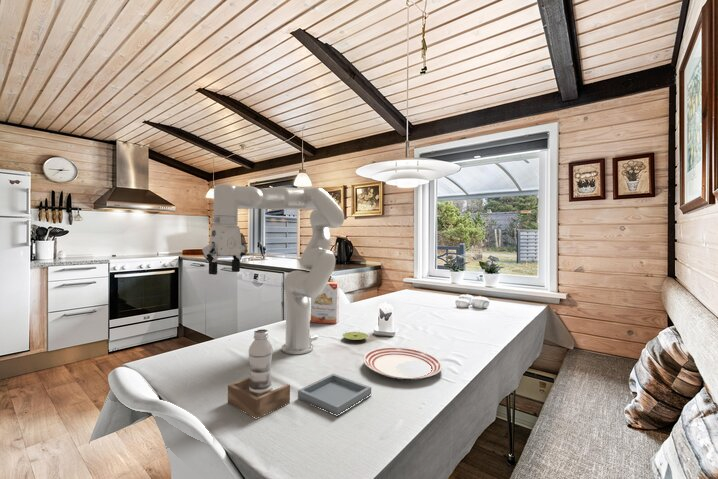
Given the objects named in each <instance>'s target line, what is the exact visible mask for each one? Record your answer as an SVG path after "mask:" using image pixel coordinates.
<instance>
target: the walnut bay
mask: <svg viewBox="0 0 718 479" xmlns="http://www.w3.org/2000/svg"><path fill="white" fill-rule="evenodd" d="M249 386H250V376H248V377H246V378H244V379H243V378H242V379H241V380H238V381H235V382H232V383H229V384H228V385H227V404H229V405H230V404H231V405H230V406H232V407H234V408H235V409H237V408H238V409H237V410H239V409H240V410H239V411H241V410H242V411H241V412H243V411H244V412H246V413H247V414H246V413H245V414H246V415H248V414H249V415H251V416H253V417H255V418H258V417H260V416H262V417H264V416H265V415H264V414H266V415H268V414H270V413H272V412H274V411H276V410H278V409H280V408H282V407H284V406H286V405H288V404H290V403H291V401H290V400H291V385H290V384H288V383H287V384H284V385H283V386H280V387H277V388H276V389H273V391H271V392H269V393H266V394H264V395H262V396H260V397H256V396H254V395H252V394H250V393H248V391H249ZM285 404H286V405H285ZM283 405H284V406H283ZM281 406H282V407H281ZM279 407H280V408H279ZM277 408H278V409H277ZM275 409H276V410H275ZM273 410H274V411H273ZM271 411H272V412H271ZM244 412H243V413H244ZM269 412H270V413H269ZM267 413H268V414H267ZM249 415H248V416H249ZM263 415H264V416H263ZM251 416H250V417H251ZM253 417H252V418H253ZM255 418H254V419H255ZM260 418H261V417H260ZM258 419H259V418H258Z"/></svg>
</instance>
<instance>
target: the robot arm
mask: <svg viewBox="0 0 718 479" xmlns="http://www.w3.org/2000/svg"><path fill="white" fill-rule="evenodd" d="M238 209H240V210H242V209H244V210H246V209H248V210H249V209H250V210H252V209H253V210H258V209H260V210H261V209H262V210H263V209H265V210H278V211H279V210H286V211H287V210H297V211H298V210H299V211H300V210H304V211H305V210H312V211H311V212H310V214H309V222H310V226H311V229H312V235H311V238H310V240H309V242H308V243H307V245H306V246H305V249H304V251H302V254H301V256H300V258H299V265H300V267H301V268H302V269H303V270H293V271H290V272H289V273H287V274H286V276H285V278H284V279H283V287H284V294H285V343H284V344H282V346H281V351H282V352H283V353H285V354H290V355H302V354H303V355H304V354H308V353H310V352H312V351H313V350H314V345H313V343H312V342H313V341H317V340H318V338H319V336H318V335H316V334H315V335H310V333H311V332H310V331H311V330H310V329H311V322H310V319H311V300H310V299H311V298H315V297H317V296H319V295H320V294H321V292H322V291H323V289H324V288H325V286H326V284H327V282H329V280H330V277H331V275H332V274H333V272H334V269H335V268H336V256H335V254H334V253H333V252H332V251H331V250H329V249H330V246H331V243H332V235H331V232H330V229H337V228H340V227H342V226H343V224H344V222H345V214H344V211H343V209H342V208H341V207H340V206H339V204H338V203H337V202H336V201H335V200H334V199H333V198H332V196H331V195H330V194H329V193H328V192H327V191H326V190H325V189H323V188H322V187H318V186H317V187H306V188H305V187H304V188H303V187H289V186H288V187H286V186H279V187H278V186H277V187H269V188H258V187H255V186H253V185H251V186H250V185H247V186H245V185H244V186H242V185H241V186H240V185H239V186H238V185H234V184H227V183H220V184H219V183H218V184H216V185H215V186H214V188H213V217H212V218H211V222H213V223H212V224H213V225H212V226H211V229H210V235H209V244H207V245H206V246H204V247H203V248H201V251H202V253H203V257H204V259H206V261H207V263H208V274H209V275H218V262H217V260H218V259H219V257H232V259H231V272H234V273H239V272H240V271H241V260H242V259H243V258H242V257H244V255H245V250H246V247H245V246H244V245H242V234H241V228H240V226H238V218H239V217H238V215H239V214H238V213H239V212H238V211H239V210H238ZM304 270H305V271H304ZM308 271H309V272H308Z"/></svg>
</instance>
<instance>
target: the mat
mask: <svg viewBox="0 0 718 479" xmlns="http://www.w3.org/2000/svg"><path fill="white" fill-rule="evenodd" d="M342 336H343V338H345V339H347V340H354V341H355V340H357V341H358V340H364V339H367V338H368V337H369V335H368V334H367V333H365V332H360V331H348V332H345V333H343V334H342Z"/></svg>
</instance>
